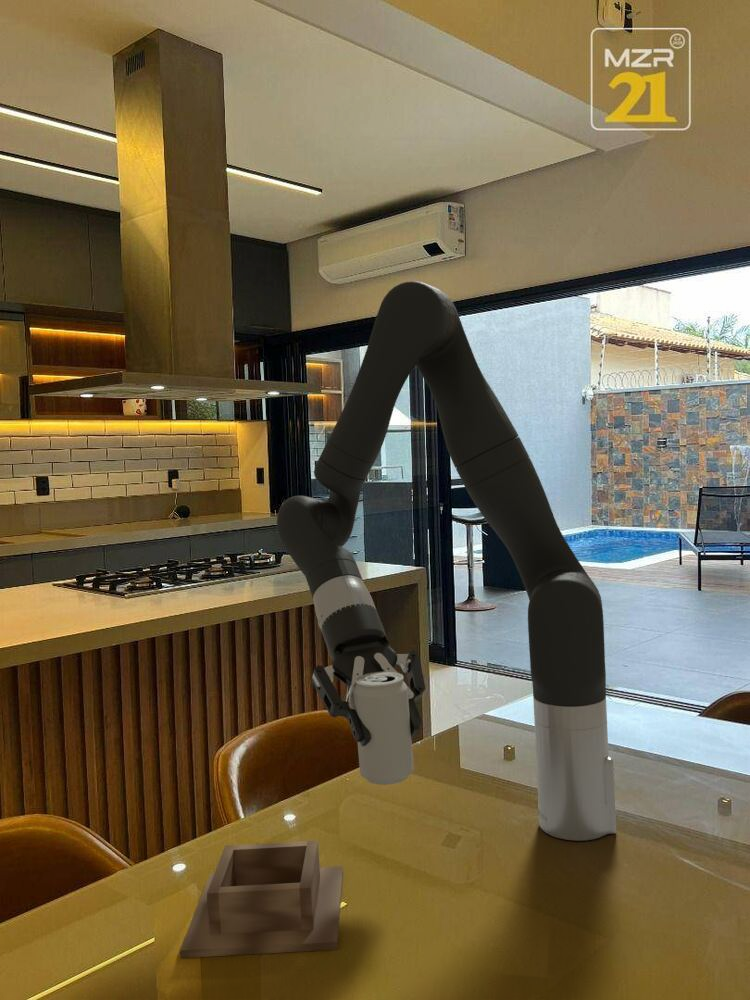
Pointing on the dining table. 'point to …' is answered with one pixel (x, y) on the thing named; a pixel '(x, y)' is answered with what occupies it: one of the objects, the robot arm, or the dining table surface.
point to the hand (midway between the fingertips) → (391, 737)
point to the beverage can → (384, 728)
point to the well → (267, 902)
